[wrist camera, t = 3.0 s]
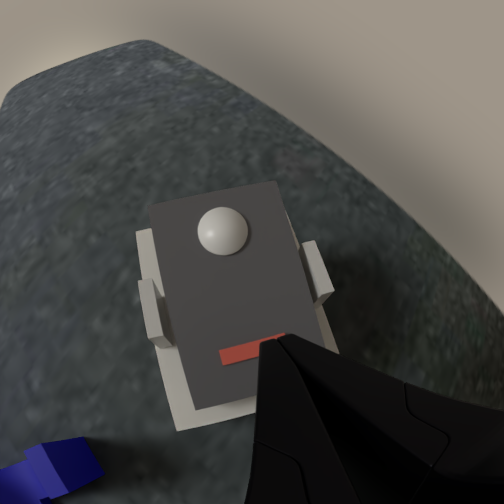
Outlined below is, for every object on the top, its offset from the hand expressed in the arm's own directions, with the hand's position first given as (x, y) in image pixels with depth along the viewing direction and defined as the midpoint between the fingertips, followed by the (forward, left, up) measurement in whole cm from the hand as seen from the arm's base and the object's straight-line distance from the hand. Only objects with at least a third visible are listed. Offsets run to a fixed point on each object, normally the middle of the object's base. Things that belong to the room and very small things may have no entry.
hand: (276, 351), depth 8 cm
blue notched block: (+1, +18, -14) cm, 23 cm away
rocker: (+3, -1, -4) cm, 5 cm away
